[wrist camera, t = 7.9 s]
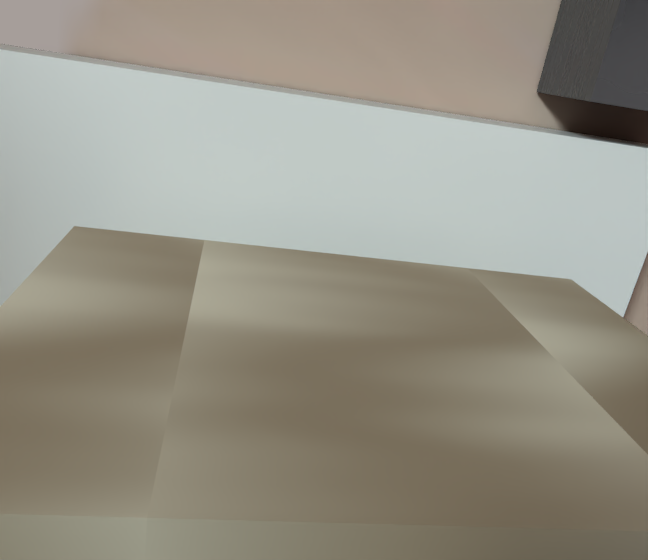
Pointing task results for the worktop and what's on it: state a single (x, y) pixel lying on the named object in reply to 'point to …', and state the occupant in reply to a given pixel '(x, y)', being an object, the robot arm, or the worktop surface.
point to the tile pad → (306, 175)
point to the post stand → (599, 53)
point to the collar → (313, 409)
